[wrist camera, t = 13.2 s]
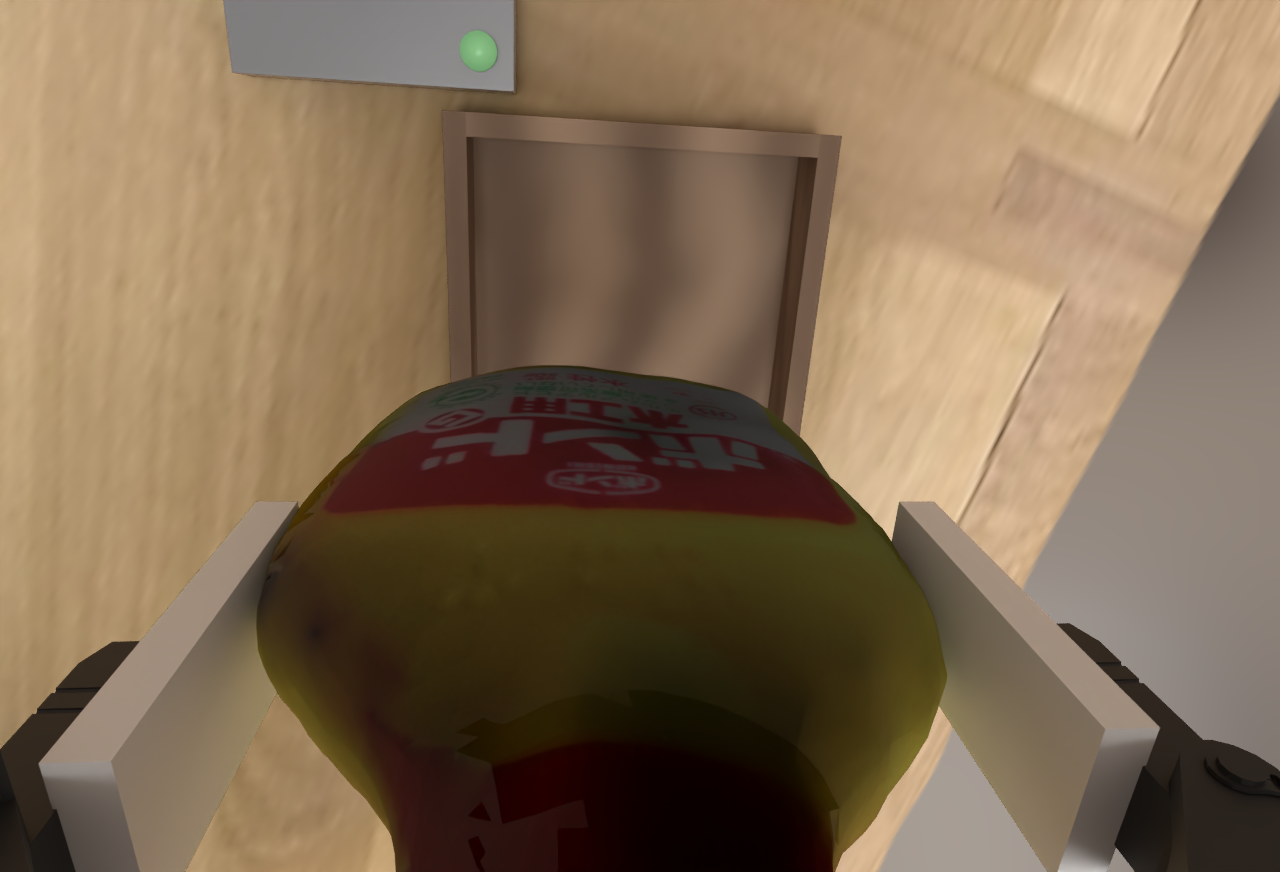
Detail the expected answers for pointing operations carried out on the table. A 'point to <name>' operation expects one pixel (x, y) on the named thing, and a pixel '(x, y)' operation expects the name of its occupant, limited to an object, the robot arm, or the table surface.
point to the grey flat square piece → (377, 42)
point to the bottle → (600, 631)
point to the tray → (637, 250)
